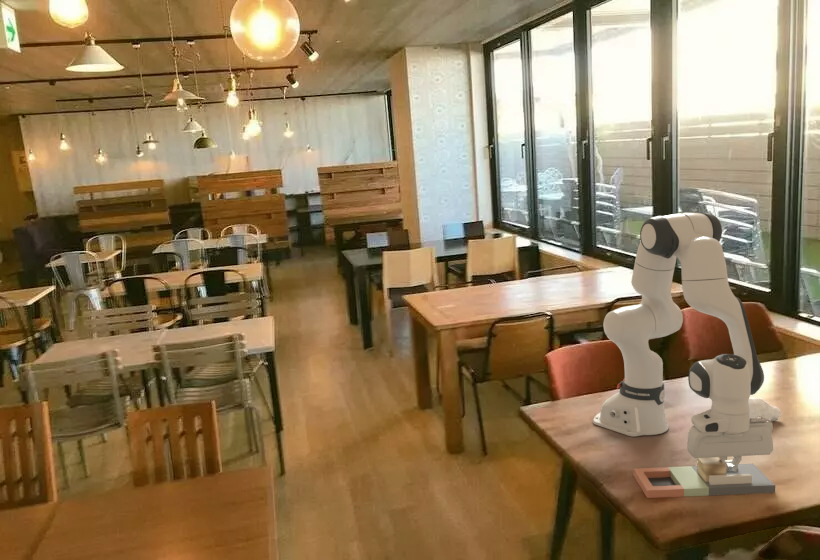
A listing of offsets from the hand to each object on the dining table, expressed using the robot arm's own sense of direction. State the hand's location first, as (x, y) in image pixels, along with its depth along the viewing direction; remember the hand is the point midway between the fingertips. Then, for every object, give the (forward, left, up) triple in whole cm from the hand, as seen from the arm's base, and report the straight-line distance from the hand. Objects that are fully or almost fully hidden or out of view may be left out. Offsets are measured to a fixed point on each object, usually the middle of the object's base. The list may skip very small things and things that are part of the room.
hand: (729, 471), depth 172 cm
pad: (-8, -7, -3) cm, 11 cm away
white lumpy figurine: (-4, +45, -3) cm, 45 cm away
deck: (-5, -4, -3) cm, 8 cm away
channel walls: (-1, -1, -1) cm, 2 cm away
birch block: (-3, -3, -1) cm, 5 cm away
